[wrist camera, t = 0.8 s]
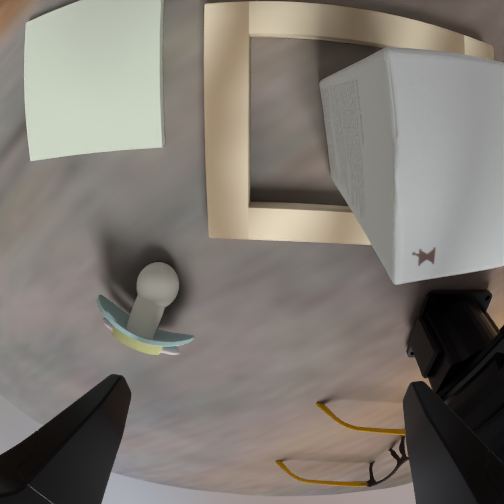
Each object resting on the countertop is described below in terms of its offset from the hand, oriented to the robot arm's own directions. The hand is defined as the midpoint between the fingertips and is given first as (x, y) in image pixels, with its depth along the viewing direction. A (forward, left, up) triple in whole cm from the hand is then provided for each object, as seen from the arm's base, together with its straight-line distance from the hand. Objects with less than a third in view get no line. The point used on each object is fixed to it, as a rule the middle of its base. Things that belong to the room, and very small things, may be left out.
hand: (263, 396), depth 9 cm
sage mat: (+12, -11, -13) cm, 21 cm away
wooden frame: (-5, -7, -13) cm, 15 cm away
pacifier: (+9, +8, -14) cm, 19 cm away
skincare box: (-5, -7, -13) cm, 15 cm away
